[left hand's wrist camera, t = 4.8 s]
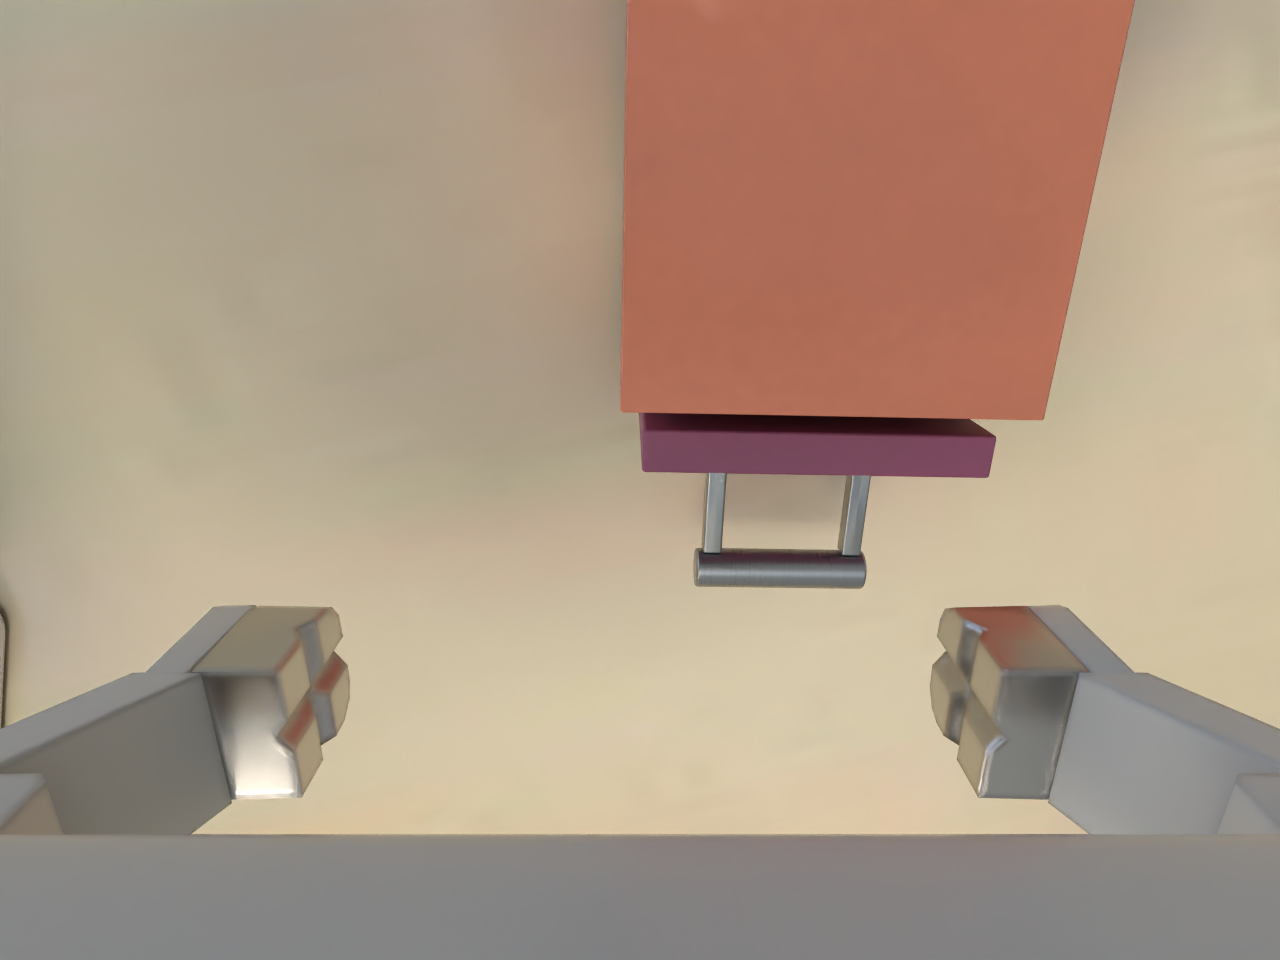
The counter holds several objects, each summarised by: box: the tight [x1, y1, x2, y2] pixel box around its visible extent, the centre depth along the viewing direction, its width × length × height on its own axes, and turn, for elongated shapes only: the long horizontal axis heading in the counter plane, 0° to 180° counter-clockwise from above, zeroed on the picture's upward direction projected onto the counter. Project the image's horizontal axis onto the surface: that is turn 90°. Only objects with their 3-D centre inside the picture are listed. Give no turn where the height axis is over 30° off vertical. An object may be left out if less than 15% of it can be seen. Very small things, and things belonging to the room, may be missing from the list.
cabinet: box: [620, 0, 1135, 420], centre depth 20 cm, size 19×11×9 cm, turn 179°
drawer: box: [639, 413, 996, 589], centre depth 22 cm, size 23×9×7 cm, turn 179°
